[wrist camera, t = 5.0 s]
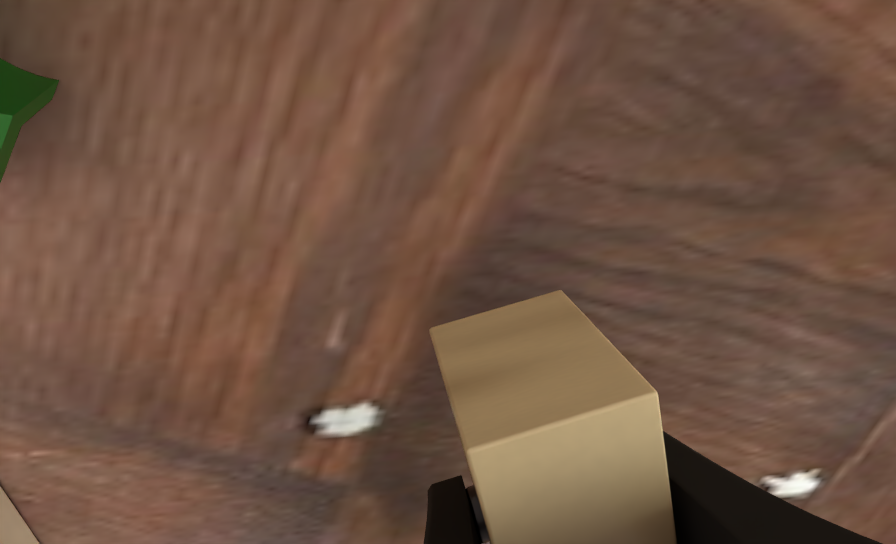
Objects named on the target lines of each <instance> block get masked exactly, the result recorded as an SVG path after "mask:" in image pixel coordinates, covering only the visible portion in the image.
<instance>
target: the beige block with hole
mask: <svg viewBox="0 0 896 544" xmlns="http://www.w3.org/2000/svg"><path fill="white" fill-rule="evenodd" d="M429 332H430V335H431V339H432V342H433V346H434V349H435V353H436V356H437V360H438V363H439V367H440V370H441V374H442V377H443V381H444V384H445V388H446V391H447V395H448V398H449V402H450V405H451V409H452V412H453V416H454V419H455V423H456V426H457V429H458V433H459V436H460V440H461V443H462V447H463V450H464V454H465V457H466V461H467V464H468V468H469V471H470V475H471V478H472V482H473V486H470V487H468V488H466V489H465V490H466V494H467V498H468V501H469V505H470V508H471V512H472V516H473V519H474V523H475V526H476V530H477V534H478V537H479V540H480V543H486V542H489V541H490V544H677V539H676V532H675V524H674V516H673V508H672V500H671V492H670V485H669V477H668V469H667V461H666V453H665V445H664V438H663V430H662V422H661V414H660V406H659V398H658V393H657V391H656V390H655V389H654V388H653V387H652V386H651V385H650V384H649V383H648V382H647V381H646V380H645V378H644V377H643V376H642V375H641V374H640V373H639V372H638V371H637V370H636V369H635V368H634V367H633V366H632V365H631V364H630V363H629V361H628V360H627V359H626V358H625V357H624V356H623V355H622V354H621V353H620V352H619V351H618V350H617V349H616V348H615V347H614V346H613V344H612V343H611V342H610V341H609V340H608V339H607V338H606V337H605V336H604V335H603V334H602V333H601V332H600V331H599V330H598V329H597V328H596V326H595V325H594V324H593V323H592V322H591V321H590V320H589V319H588V318H587V317H586V316H585V315H584V314H583V313H582V312H581V311H580V309H579V308H578V307H577V306H576V305H575V304H574V303H573V302H572V301H571V300H570V299H569V298H568V297H567V296H566V295H565V294H564V293H563V291H562V290H558V291H555V292H551V293H548V294H544V295H541V296H538V297H534V298H531V299H527V300H524V301H521V302H517V303H514V304H510V305H507V306H504V307H500V308H497V309H493V310H490V311H487V312H483V313H480V314H476V315H473V316H470V317H466V318H463V319H459V320H456V321H453V322H449V323H446V324H442V325H439V326H436V327H432V328H430V331H429Z"/></svg>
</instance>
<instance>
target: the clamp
mask: <svg viewBox="0 0 896 544" xmlns="http://www.w3.org/2000/svg"><path fill="white" fill-rule="evenodd" d="M58 82H59V80H55V79H50V78H46V77H42V76H38V75H35V74H32V73H29V72H27V71H24V70H22V69H20V68H18V67H15V66H13V65H11V64H10V63H8V62H6V61H4V60H2V59H1V58H0V182H1V180H2V177H3V174H4V172H5V169H6V166H7V164H8V161H9V158H10V156H11V153H12V150H13V147H14V145H15V142H16V139H17V137H18V134H19V131H20V128H21V126H22V125H23V124H24V123H25V122H26V121H28V120H29V119H30V118H31V117H32V116H33V115H35V114H36V113H37V112H38V111H39V110H40V109H41V108H43V107H44V106H45V105H46V104H47V103H48V102H50V101H51V100H52V98H53V95H54V93H55V90H56V87H57V85H58Z"/></svg>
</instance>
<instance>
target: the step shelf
mask: <svg viewBox="0 0 896 544" xmlns="http://www.w3.org/2000/svg"><path fill="white" fill-rule="evenodd" d="M0 544H40V543H39V542H38V541H37V539H36V538H35V536H34V535H33V533H32V532H31V530H30V529H29V527H28V526H27V524H26V523H25V521H24V520H23V519H22V517H21V516H20V514H19V513H18V511H17V510H16V508H15V507H14V505H13V504H12V502H11V501H10V499H9V498H8V497H7V495H6V494H5V492H4V491H3V489H2V488H1V486H0Z"/></svg>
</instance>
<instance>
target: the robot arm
mask: <svg viewBox="0 0 896 544" xmlns="http://www.w3.org/2000/svg"><path fill="white" fill-rule="evenodd" d="M663 438H664V445H665V453H666V461H667V469H668V477H669V485H670V492H671V500H672V508H673V516H674V524H675V532H676V539H677V544H882V543H879V542H877V541H874V540H872V539H869V538H867V537H864V536H862V535H859V534H857V533H854V532H852V531H850V530H847V529H845V528H843V527H840V526H838V525H836V524H833V523H831V522H829V521H827V520H824V519H822V518H820V517H817V516H815V515H813V514H811V513H808V512H806V511H804V510H802V509H800V508H798V507H796V506H794V505H792V504H790V503H788V502H786V501H784V500H782V499H780V498H778V497H776V496H774V495H772V494H770V493H768V492H766V491H764V490H762V489H760V488H759V487H757V486H755V485H753V484H751V483H749V482H747V481H746V480H744V479H742V478H740V477H739V476H737V475H735V474H733V473H732V472H730V471H728V470H726V469H725V468H723V467H721V466H719V465H718V464H716V463H714V462H713V461H711V460H709V459H707V458H706V457H704V456H702V455H701V454H699V453H698V452H696V451H694V450H693V449H691V448H689V447H688V446H686V445H685V444H683V443H681V442H680V441H678V440H677V439H675V438H673V437H672V436H670V435H669V434H667V433H666V432H664V431H663ZM424 544H481V543H480V540H479V537H478V534H477V530H476V526H475V523H474V519H473V516H472V512H471V508H470V505H469V501H468V498H467V494H466V490H465V486H464V482H463V479H462V476H461V475H460V476H457V477H454V478H451V479H447V480H444V481H441V482H438V483H435V484H432V485H431V486H430V488H429V490H428V511H427V522H426V530H425V538H424Z"/></svg>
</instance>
